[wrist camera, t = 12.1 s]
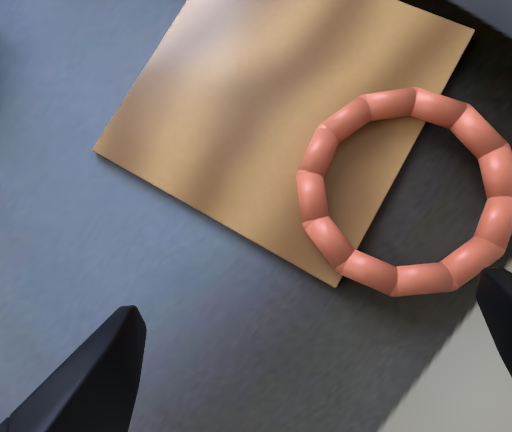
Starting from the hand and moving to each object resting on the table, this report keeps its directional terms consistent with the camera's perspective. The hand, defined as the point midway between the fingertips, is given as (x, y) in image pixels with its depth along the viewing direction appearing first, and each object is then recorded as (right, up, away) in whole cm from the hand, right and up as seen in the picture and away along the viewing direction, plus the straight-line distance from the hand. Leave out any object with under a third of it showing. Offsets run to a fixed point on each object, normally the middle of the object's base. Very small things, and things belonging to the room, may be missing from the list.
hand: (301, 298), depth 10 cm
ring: (+1, +3, +9) cm, 10 cm away
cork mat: (0, +9, +12) cm, 15 cm away
